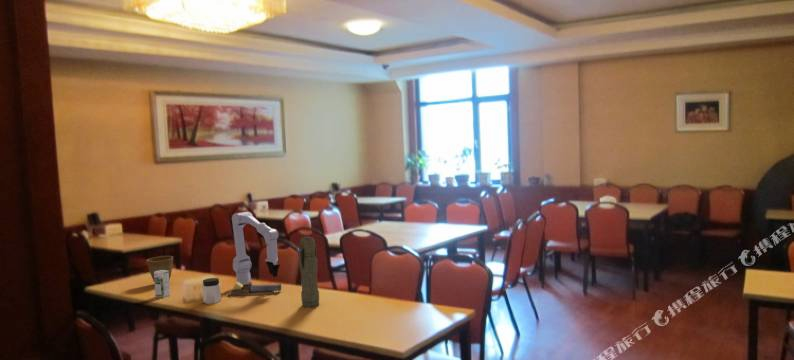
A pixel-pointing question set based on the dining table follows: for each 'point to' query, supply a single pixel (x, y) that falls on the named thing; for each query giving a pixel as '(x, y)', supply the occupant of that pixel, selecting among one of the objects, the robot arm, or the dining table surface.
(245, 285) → the bearing block
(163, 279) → the syrup box
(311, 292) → the thermos
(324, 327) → the dining table surface
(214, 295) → the jar
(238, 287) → the spacer
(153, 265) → the plant pot
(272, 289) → the shaft
